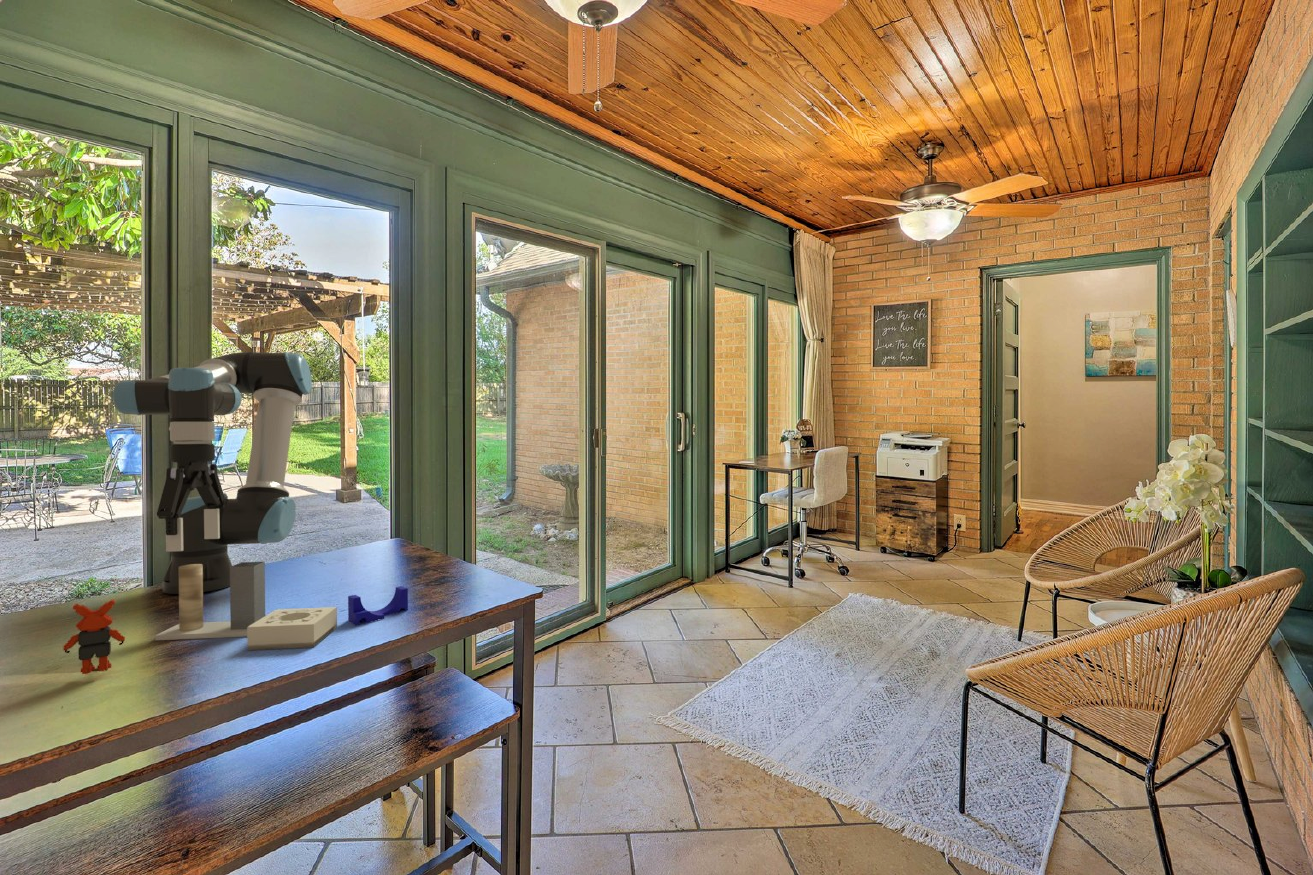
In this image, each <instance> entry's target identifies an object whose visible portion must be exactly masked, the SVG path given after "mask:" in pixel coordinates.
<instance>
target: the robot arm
mask: <svg viewBox="0 0 1313 875" xmlns="http://www.w3.org/2000/svg"><path fill="white" fill-rule="evenodd" d="M312 385H313V382H312V374H311V369H310V366H309V363H308V361H307V358H305V356H303V355H302V354H301V353H295V352H294V353H293V352H287V351H285V352H264V351H263V352H257V351H256V352H255V351H254V352H253V351H252V352H251V351H241V352H233V353H229V354H224V355H220V356H216V357H212V358H208V359H206V360H203V361H201V363H199V365H198V366H195V367H174V368H171V369H170V370H169V373H168V374H166V375H161V376H158V377H152V378H148V379H141V380H140V379H138V380H137V379H132V380H131V379H129V380H121V381H119V382H117V383H116V384H115V386H114V387H113V391H112V399H113V404H114V405H113V406H114V407H115V409H116V410H117V411H118V412H119V413H121V414H123V415H131V416H132V415H136V416H143V415H144V416H146V415H147V416H149V415H150V416H151V415H152V416H153V415H155V416H156V415H160V416H161V415H163V416H165V415H169V427H168V431H169V441H170V442H173V443H171V444H170V446H169V461H170V462H172V463H176V464H177V467H168V468H167V469H166V472H165V473H166V478H165V483H164V485H163V489H162V494H161V497H160V500H159V504H158V507H157V512H156V516H157V517H158V519H159V520H162V519H163V520H165V552H170V562H169V564H168V567H167V569H166V572H165V575H164V577H163V581H162V584H161V585H162V586H161V587H162V593H163V594H164V593H165V594H170V595H179V567H180V566H183V565H190V564H202V565H203V593H207V592H212V591H217V590H222V589H225V588H230V567H231V566H233V564H232V562H231V559H230V557H229V553H228V552H229V550H228V548H229V547H228V546H229V545H249V544H250V545H253V544H256V545H257V544H262V545H267V544H272V543H273V544H274V543H280V542H283V541H284V540H285V539H287V537H288V536H289V535H290V533H291V532H292V529H293V526H294V523H295V521H296V515H297V513H296V507H297V506H296V502H295V500H294V499H293V498H292V497H290V492H289V491H288V490H287V489H286V487H285V486H284V485H285V480H286V479H285V478H286V474H287V473H286V472H287V471H286V470H287V464H288V457H289V449H290V442H291V434H292V429H293V428H292V426H293V421H294V412H295V408H296V406H298V405H300V404H301V403H302V399H303V395H304V396H306V395H310V393H311V391H312ZM242 394H245V395H246V394H248V395H250V394H251V395H253V398H254V399H255V400H256V401H257V402H258V405H257V410H256V417H255V424H254V430H253V436H252V442H251V448H250V455H249V462H248V467H247V472H246V473H247V474H246V480H245V484H244V485H242V486H241V487H240V488H238V489H237V492H236V497H235V498H229V496H228V494H227V493H226V492H224V491H223V488H222V485H221V481H220V478H219V474H218V466H217V463H209V462H213V461H215V459H216V447H215V446H216V445H215V444H214V443H212V442H214V441H215V440H216V436H215V435H216V434H215V433H216V431H215V416H222V417H223V416H226V415H231V414H233V413H234V412H236V411H237V410H238V409H239V408H240V406H241V404H242ZM195 489H196V490H197V493H198V494H199V496H195V497H193V496H192V497H189V495H190V494H191V492H192V491H194V490H195Z"/></svg>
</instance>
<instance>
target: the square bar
mask: <svg viewBox="0 0 1313 875" xmlns="http://www.w3.org/2000/svg"><path fill="white" fill-rule="evenodd" d="M265 563H266V561H246V562H245V561H244V562H243V561H241V562H239V563H237V564H233V565H232V566H231V567H230V586H229V596H230V597H229V599H230V600H229V602H230V621H231V630H237V629H247V627H248V626H250V625H251V624H253V623H255V622H256V621H258V620H260V619H261V618H263V617H265V616H266V571H265V570H266V566H265Z"/></svg>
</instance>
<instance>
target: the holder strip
mask: <svg viewBox="0 0 1313 875" xmlns="http://www.w3.org/2000/svg"><path fill="white" fill-rule="evenodd" d="M239 637H240V638H242V637H247V629H237V630H231V620H230V621H229V620H228V621H209V622H207V621H206V622H205V621H203V627H202V628H200V629H197V630H193V631H180V630H179V623H178V624H176V625H173V626H172V627H169V628H168V629H166V630H163V631H162V632H159V633H158V634H156V635H155V636H154V641H172V640H173V641H174V640H196V639H217V638H239Z"/></svg>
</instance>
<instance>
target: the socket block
mask: <svg viewBox="0 0 1313 875" xmlns="http://www.w3.org/2000/svg"><path fill="white" fill-rule="evenodd" d="M337 628H338V607H337V606H331V607H330V606H329V607H328V606H327V607H326V606H325V607H304V608H302V607H300V608H280V609H279V608H278V609H275V610H273V611H272V612H270V613H268V614H265V617H263V618H261V619H260V620H258V621H256V622H255V623H253V624H251V625H250V626H248V627H247V636H246V638H247V640H246V641H247V642H246V643H247V644H246V645H247V651H263V650H264V651H266V650H286V649H304V648H305V649H307V648H316V646H318V645H319V644H320V643H321V642H322V641H324V639H326V638H327V637H328V636H330V635H331V634H332V633H333V632H334V631H335V630H336V629H337Z"/></svg>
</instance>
